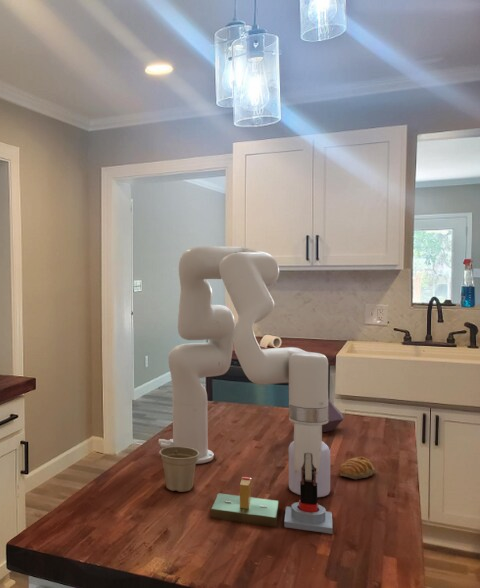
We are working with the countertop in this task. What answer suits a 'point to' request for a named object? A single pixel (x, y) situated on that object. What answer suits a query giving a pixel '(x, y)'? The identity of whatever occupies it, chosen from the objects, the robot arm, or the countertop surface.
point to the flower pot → (179, 467)
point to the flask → (332, 417)
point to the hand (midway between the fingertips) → (308, 502)
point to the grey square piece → (308, 519)
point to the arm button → (308, 507)
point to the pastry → (357, 468)
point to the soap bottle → (321, 477)
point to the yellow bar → (245, 492)
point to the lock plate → (245, 510)
